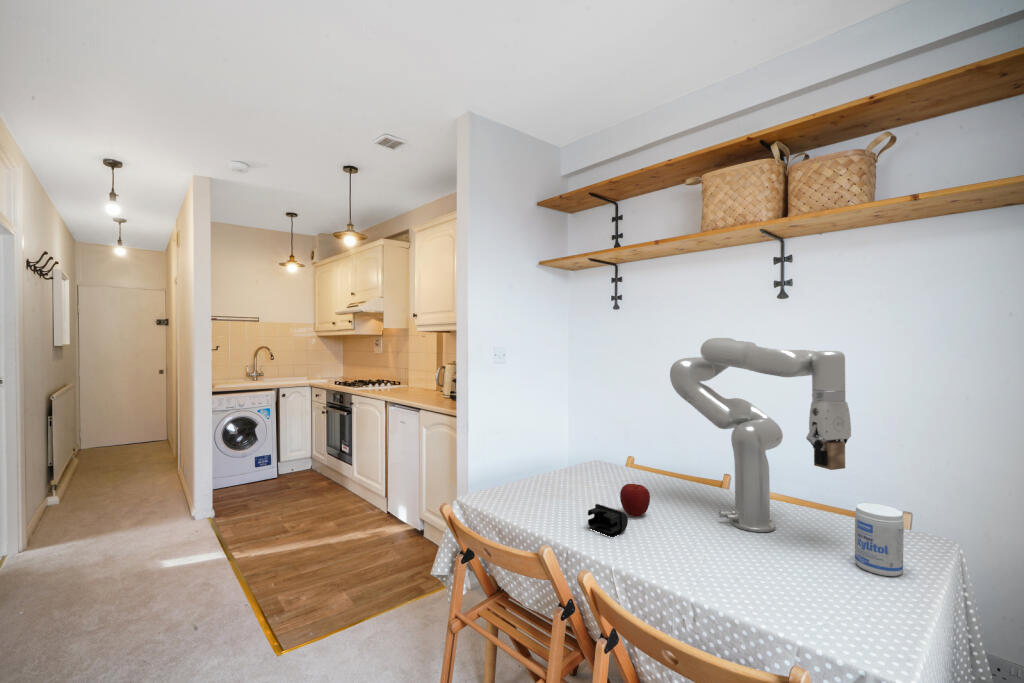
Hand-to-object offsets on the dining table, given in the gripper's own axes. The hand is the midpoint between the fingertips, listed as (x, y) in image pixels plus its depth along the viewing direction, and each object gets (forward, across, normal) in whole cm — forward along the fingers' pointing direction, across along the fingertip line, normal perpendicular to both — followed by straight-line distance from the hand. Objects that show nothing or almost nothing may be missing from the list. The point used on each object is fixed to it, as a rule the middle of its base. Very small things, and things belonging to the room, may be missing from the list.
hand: (829, 463), depth 130 cm
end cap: (+24, -50, +31) cm, 64 cm away
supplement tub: (+23, +1, -12) cm, 26 cm away
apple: (+24, -36, +40) cm, 58 cm away
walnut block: (+1, 0, 0) cm, 1 cm away
